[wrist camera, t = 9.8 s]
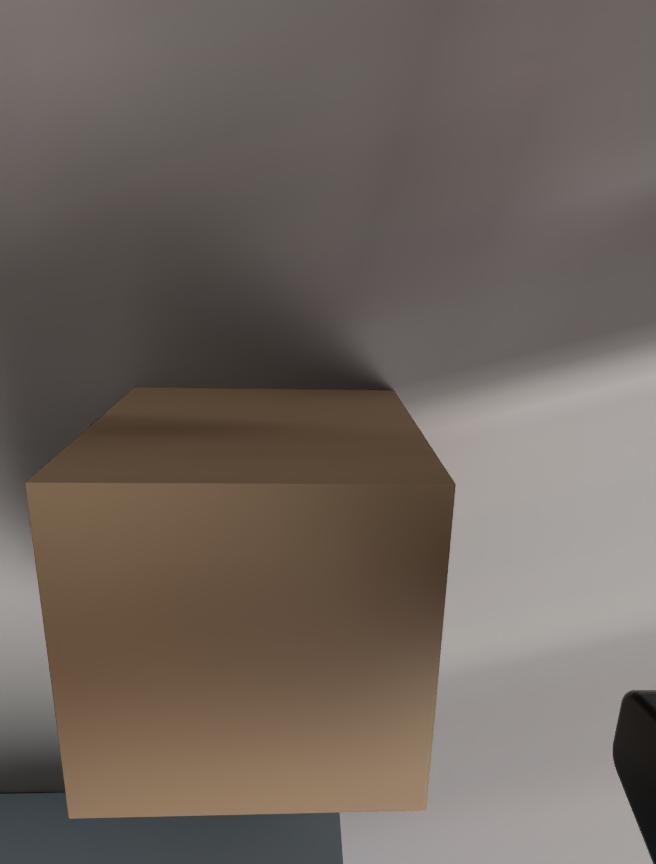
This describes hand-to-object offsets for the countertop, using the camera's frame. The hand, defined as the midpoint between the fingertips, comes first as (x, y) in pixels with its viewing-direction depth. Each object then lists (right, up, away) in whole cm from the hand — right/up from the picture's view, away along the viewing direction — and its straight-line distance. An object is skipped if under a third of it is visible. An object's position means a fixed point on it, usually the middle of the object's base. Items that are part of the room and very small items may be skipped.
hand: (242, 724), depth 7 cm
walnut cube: (0, +2, +6) cm, 6 cm away
